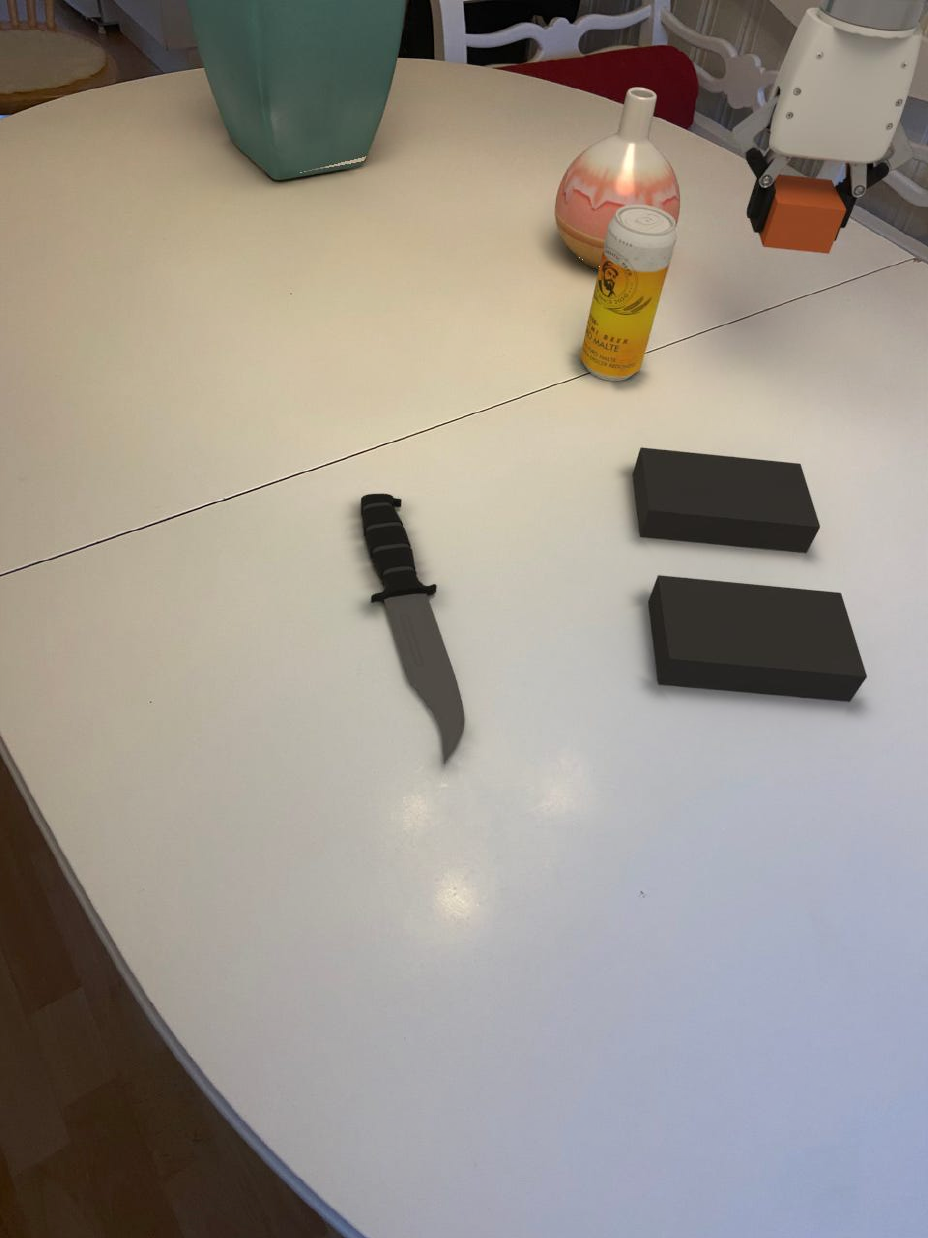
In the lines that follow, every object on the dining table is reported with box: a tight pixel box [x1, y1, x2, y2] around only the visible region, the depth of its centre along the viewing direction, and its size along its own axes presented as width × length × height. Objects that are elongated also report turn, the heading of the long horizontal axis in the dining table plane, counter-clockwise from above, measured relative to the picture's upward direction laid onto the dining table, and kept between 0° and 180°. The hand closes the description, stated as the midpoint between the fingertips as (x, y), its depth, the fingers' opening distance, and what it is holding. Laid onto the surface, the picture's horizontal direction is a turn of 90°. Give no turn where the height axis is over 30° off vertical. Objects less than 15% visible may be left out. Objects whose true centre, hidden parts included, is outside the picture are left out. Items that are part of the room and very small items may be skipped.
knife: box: [360, 493, 466, 765], centre depth 67 cm, size 25×2×5 cm
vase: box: [554, 87, 681, 271], centre depth 100 cm, size 14×14×18 cm
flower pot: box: [185, 0, 407, 181], centre depth 106 cm, size 20×20×28 cm
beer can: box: [580, 205, 678, 382], centre depth 86 cm, size 6×6×15 cm
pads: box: [632, 446, 868, 703], centre depth 73 cm, size 14×23×3 cm, turn 178°
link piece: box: [758, 173, 846, 255], centre depth 83 cm, size 6×6×4 cm
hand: (792, 227), depth 84 cm, fingers closed on link piece, 6 cm apart
